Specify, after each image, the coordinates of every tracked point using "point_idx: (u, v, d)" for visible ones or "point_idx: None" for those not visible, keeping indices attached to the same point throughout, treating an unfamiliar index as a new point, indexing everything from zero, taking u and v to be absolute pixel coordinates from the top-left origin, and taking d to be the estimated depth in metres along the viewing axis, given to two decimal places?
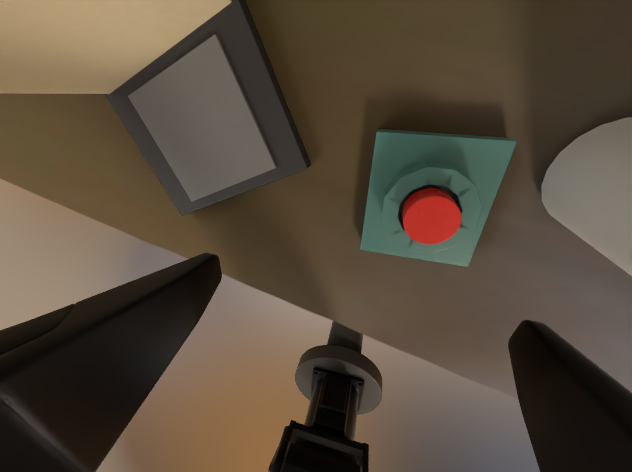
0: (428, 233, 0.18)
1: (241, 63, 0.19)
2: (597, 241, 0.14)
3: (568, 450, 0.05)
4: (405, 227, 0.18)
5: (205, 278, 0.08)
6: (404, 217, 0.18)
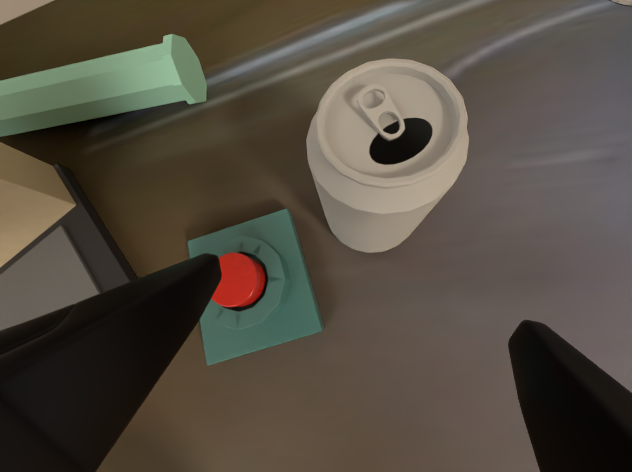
0: (233, 292, 0.17)
1: (80, 237, 0.24)
2: (339, 222, 0.15)
3: (568, 450, 0.05)
4: None
5: (205, 278, 0.08)
6: None
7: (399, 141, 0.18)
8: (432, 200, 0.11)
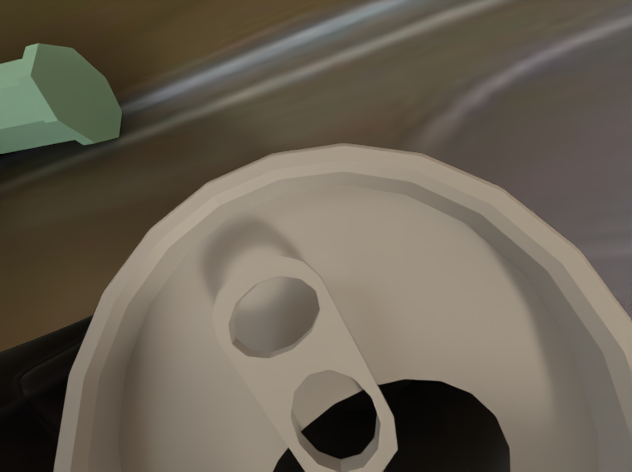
0: None
1: None
2: None
3: None
4: None
5: None
6: None
7: None
8: None
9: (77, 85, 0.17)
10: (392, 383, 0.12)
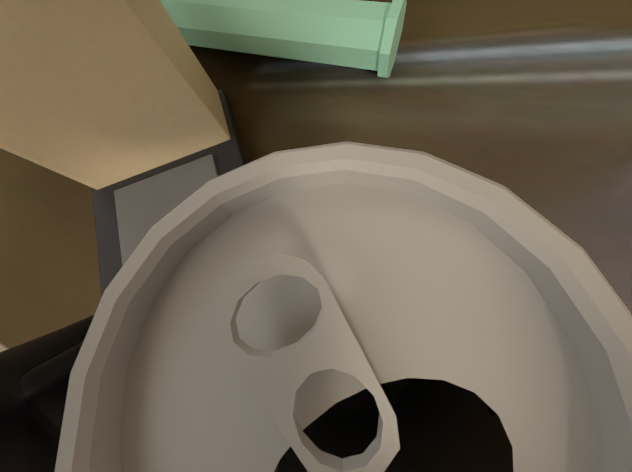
0: None
1: (226, 172, 0.24)
2: None
3: None
4: None
5: None
6: None
7: None
8: None
9: (398, 32, 0.22)
10: (392, 383, 0.12)
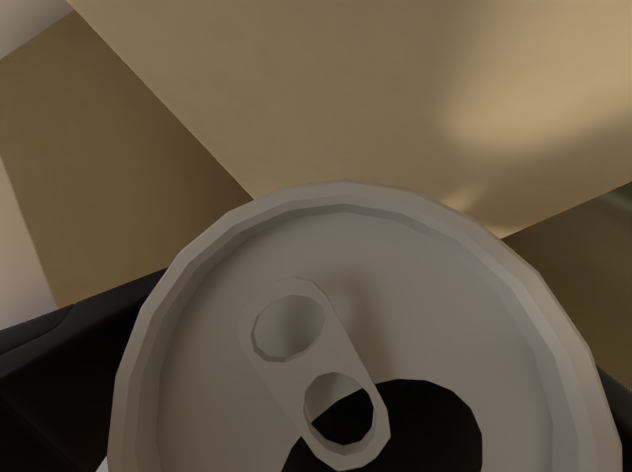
0: None
1: None
2: None
3: None
4: None
5: None
6: None
7: None
8: None
9: None
10: (391, 382, 0.13)
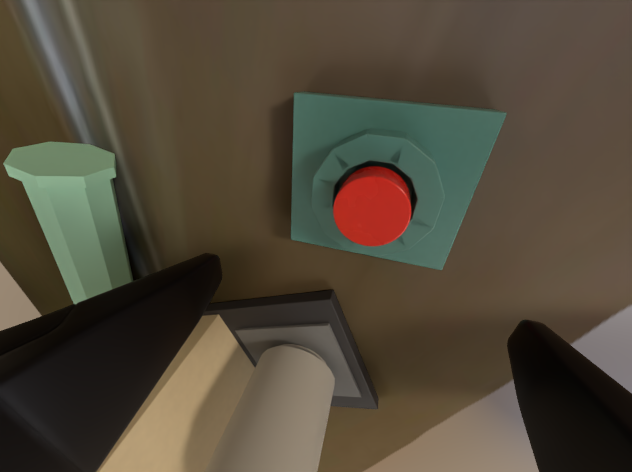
0: (390, 217, 0.12)
1: (251, 321, 0.25)
2: (319, 459, 0.19)
3: (567, 449, 0.05)
4: (378, 244, 0.13)
5: (206, 278, 0.08)
6: (364, 244, 0.13)
7: None
8: None
9: (52, 157, 0.18)
10: (307, 351, 0.23)
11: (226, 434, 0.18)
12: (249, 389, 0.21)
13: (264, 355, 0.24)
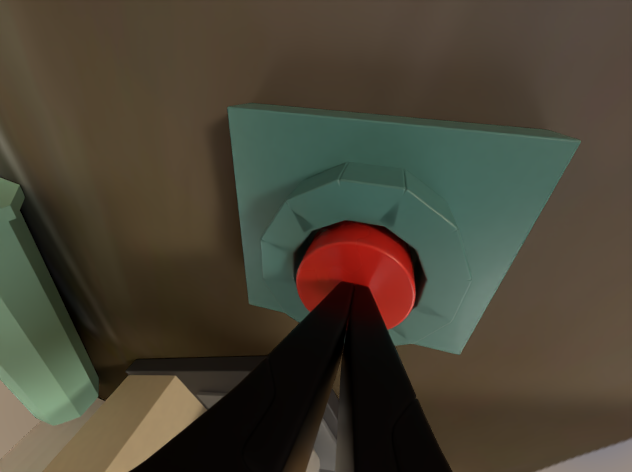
0: (382, 299, 0.08)
1: (214, 385, 0.20)
2: None
3: (343, 386, 0.06)
4: None
5: None
6: None
7: None
8: None
9: None
10: None
11: None
12: None
13: None
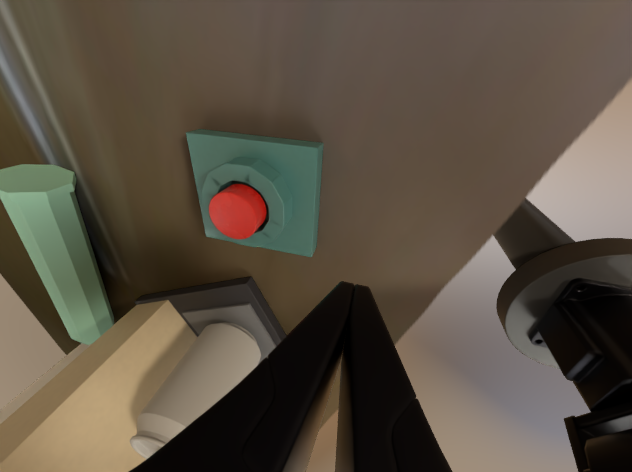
0: (244, 219, 0.18)
1: (193, 304, 0.30)
2: None
3: (343, 386, 0.06)
4: (243, 238, 0.18)
5: None
6: (235, 238, 0.19)
7: None
8: (181, 424, 0.21)
9: (23, 177, 0.23)
10: (236, 326, 0.29)
11: (160, 386, 0.24)
12: (184, 356, 0.26)
13: (202, 331, 0.29)
